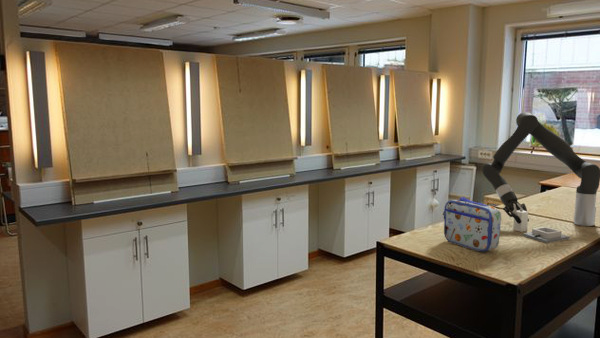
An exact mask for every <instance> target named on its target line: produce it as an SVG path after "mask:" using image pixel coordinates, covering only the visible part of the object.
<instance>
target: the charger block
mask: <svg viewBox="0 0 600 338" xmlns="http://www.w3.org/2000/svg"><path fill="white" fill-rule="evenodd" d="M527 211H528V210H527ZM527 211H524V210H523V209H520V210H517V211H516V213H517V216H519V218H520V219H521V221H522V222H521V223H520V224H518V223H517V222H516V220H515V218H513V225H512V227H513V228H512V229H513V230H514V231H517V232H521V233H522V232H527V231H528V224H529V221H528V219H529V211H528V212H527Z"/></svg>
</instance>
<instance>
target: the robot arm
mask: <svg viewBox="0 0 600 338" xmlns="http://www.w3.org/2000/svg"><path fill="white" fill-rule="evenodd" d="M515 120H516V121H515V123H516V125H517V128H516V129H515V131H514V132H513V133H512V135H511V136H510V137H509V138H508V139H506V140H505V141H504V142H503V143H502V144H501V145H500V146H499V147H498V148H497V151H496V152H495V153H494V154H493V156H492V158H493V161H492V163H490V162H487V163H484V164H483V165H482V167H481V173H482V174H483V176H484V177H485V178H486V179H487V181H488V182H489V183H490V184H491V186H492V187H493V189H494V191H495V192H496V195H497V197H498V198H499V200H501V203H502V204H503V206H504V207H503V208H502V209H503V211H504V212H505V213H506V215H507V216H509V218H513V219H514V218H515V220H516V222H517V223H518V224H520V223H521V222H522V221H521V219H520V218H519V216H517V213H516V211H517V210H520V209H523V210H524V211H527V212H528V213H529V211H528V209H527V207H526V204H525V203H521V202H519V201H518V200H519V199H518V197H517V194H515V192H514V191H513V189H512V188H511V186H510V185H509V184H508V181H506V179H505V178H504V177H503V176H501V175H500V174H501V172H502V170H503V168H504V166H505V164H506V162H507V161H508V160H509V158H510V157H511V156H512V154H513V153H514V152H515V151H516V150H517V148H518V147H519V146H520V144H521V143H522V142H523V141H524V140H525V139H527V138H528V136H532V137H533V138H534V139H535V140H536V141H537V142H538V143H539V144H540V145H541V146H542V147H543V148H544V149H545V150H546V151H547V152H548V153H549V154H551V155H552V156H553V157H555V158H556V159H557V160H559V161H560V162H561V163H563V164H565V165H566V166H567V167H568V168H569V169H570V170H571V171H572V172H573V173H574V174H575V176H577V177H578V178H579V179H580V184H579V185H578V186H577V187H576V189H575V190H576V191H575V203H574V214H573V224H575V225H578V226H583V227H592V226H594V225H595V224H596V223H595V222H596V211H597V207H596V203H597V193H598V190H599V187H600V167H599V165H597V164H594V163H590V162H588V161H587V160H584V159H583V158H581V157H580V156H579V155H577V154H576V153H575V151H574V149H573V148H572V147H571V145H570V144H569V143H568V142H567V141H565V140H564V139H563V138H562V137H560V136H559V135H558V134H556V133H555V132H553V131H551V130H550V129H549V128H546V127H545V126H544V125H542V123H540V121H539V120H538V117H537V116H536V115H534V114H533V113H531V112H525V111H524V112H521V113H519V114H518V115H517V116H516V119H515ZM528 222H530V218H528Z"/></svg>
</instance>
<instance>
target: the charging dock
mask: <svg viewBox="0 0 600 338" xmlns="http://www.w3.org/2000/svg"><path fill="white" fill-rule="evenodd" d="M522 235H523V237H525V238H529V239H532V240H536V241H539V242H542V243H544V244H549V243H553V242H554V243H555V242H561V241H565V240H570V239H571V236H569V235H566V234H563V233H562V230H559V229H555V228H551V227H548V226H541V227H534V228H531V231H530V232H525V233H523V234H522Z"/></svg>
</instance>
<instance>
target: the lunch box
mask: <svg viewBox="0 0 600 338" xmlns="http://www.w3.org/2000/svg"><path fill="white" fill-rule="evenodd" d="M477 202H478V201H472V200H470V199H468V198H467V197H465V196H462V197H459V199H452V200H448V201H446V203H445V205H444V211H443V212H442V216H443V227H444V228H443V234H444V238H445V239H446V241H448V242H449V243H451V244H453V243H454V245H456V244H457V245H456V246H459V245H460V247H462V246H463V248H466V249H469V250H474V251H477V252H487V251H490V250H495V249H497V248H498V246H499V243H500V236H501V234H500V233H501V225H502V224H501V223H502V213H501V211H500V210H499V209H498V208H496V207H495V206H493V205H488V204H486V203H485V204H484V203H481V202H479V203H477Z"/></svg>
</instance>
